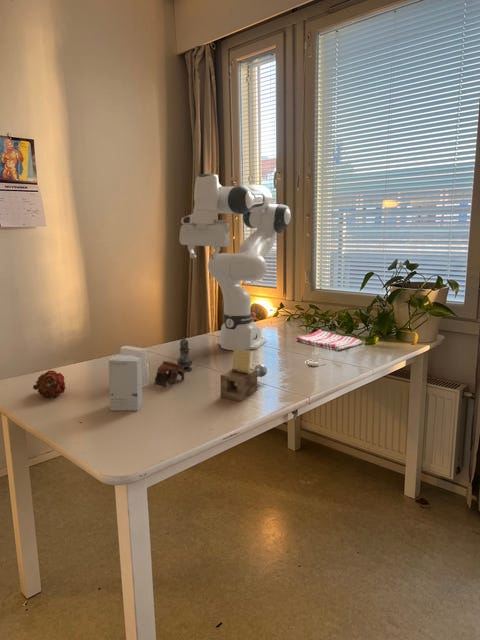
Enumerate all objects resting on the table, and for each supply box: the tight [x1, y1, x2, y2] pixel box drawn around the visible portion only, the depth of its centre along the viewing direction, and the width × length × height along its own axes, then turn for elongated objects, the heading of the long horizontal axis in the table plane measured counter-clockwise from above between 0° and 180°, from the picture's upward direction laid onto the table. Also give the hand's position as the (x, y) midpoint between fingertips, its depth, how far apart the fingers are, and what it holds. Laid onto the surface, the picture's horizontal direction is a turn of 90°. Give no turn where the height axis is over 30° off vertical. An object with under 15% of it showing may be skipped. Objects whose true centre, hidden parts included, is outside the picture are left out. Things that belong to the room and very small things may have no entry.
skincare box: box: [108, 354, 143, 412], centre depth 134 cm, size 8×6×15 cm
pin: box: [232, 363, 268, 389], centre depth 148 cm, size 16×4×4 cm, turn 149°
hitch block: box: [220, 367, 258, 402], centre depth 144 cm, size 10×7×7 cm
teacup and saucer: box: [304, 351, 321, 367], centre depth 175 cm, size 9×8×4 cm
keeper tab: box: [231, 349, 252, 374], centre depth 143 cm, size 7×6×1 cm
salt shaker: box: [176, 336, 194, 373], centre depth 168 cm, size 6×6×12 cm
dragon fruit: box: [32, 370, 66, 399], centre depth 144 cm, size 8×8×12 cm
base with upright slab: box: [120, 345, 150, 388], centre depth 153 cm, size 9×9×12 cm
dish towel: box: [295, 328, 363, 352], centre depth 204 cm, size 17×23×4 cm
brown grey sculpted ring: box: [154, 360, 185, 388], centre depth 154 cm, size 12×10×8 cm
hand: (203, 258), depth 170 cm, fingers open, 8 cm apart
